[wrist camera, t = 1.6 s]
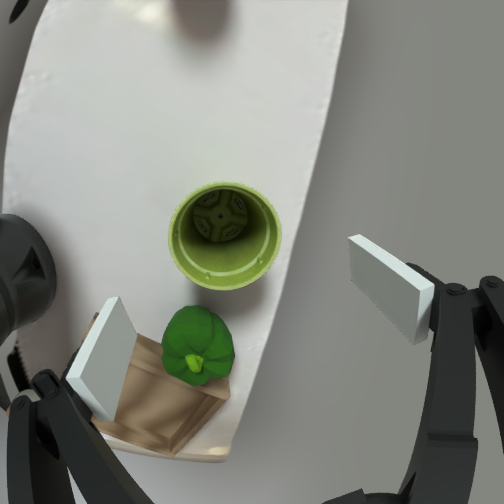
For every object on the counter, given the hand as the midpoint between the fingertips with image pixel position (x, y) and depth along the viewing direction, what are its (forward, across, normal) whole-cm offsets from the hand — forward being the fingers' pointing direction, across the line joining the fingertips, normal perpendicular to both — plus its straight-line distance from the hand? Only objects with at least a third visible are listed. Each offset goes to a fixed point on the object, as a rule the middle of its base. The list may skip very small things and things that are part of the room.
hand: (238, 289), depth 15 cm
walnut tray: (+18, -19, -22) cm, 34 cm away
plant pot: (+18, 0, 0) cm, 18 cm away
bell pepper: (+18, -6, -13) cm, 23 cm away
